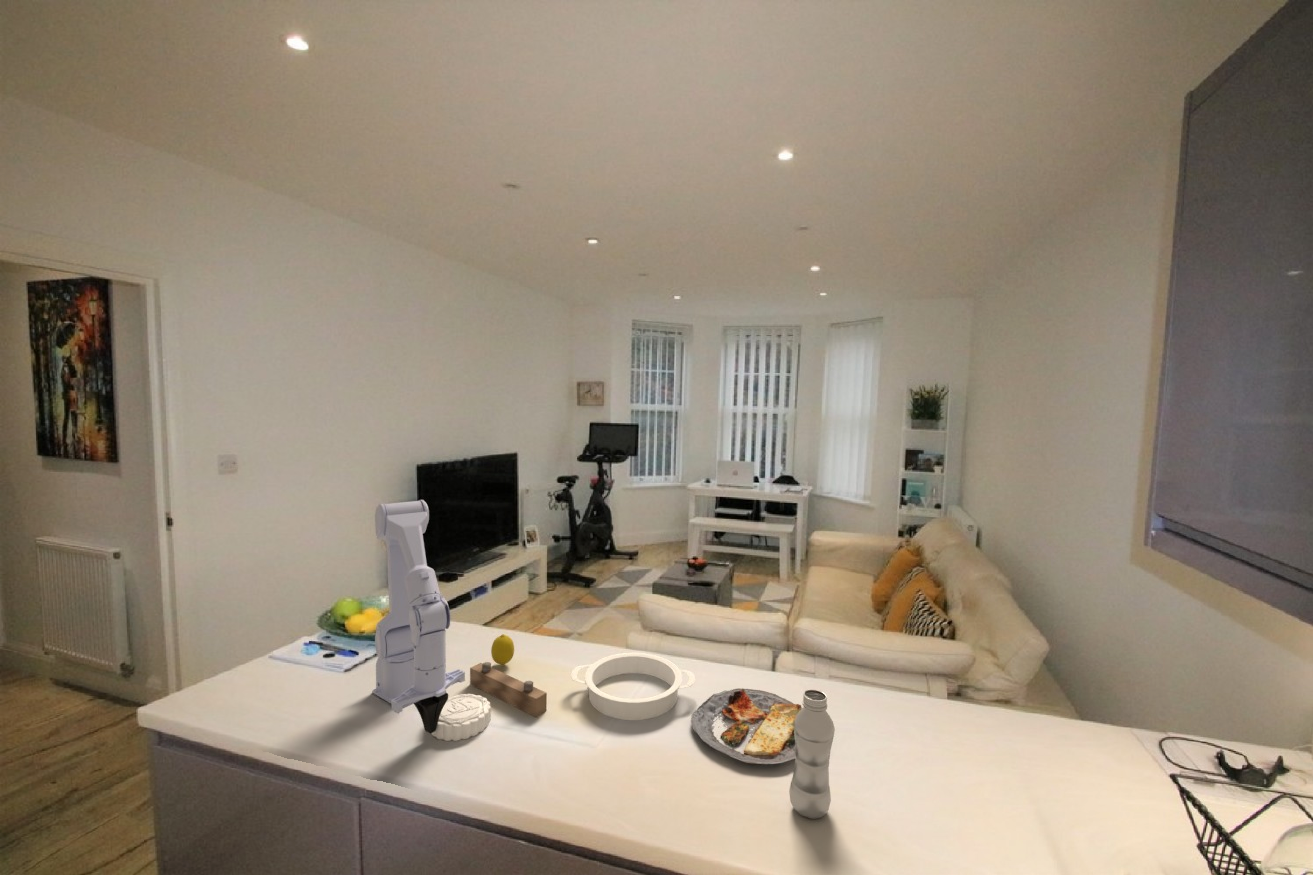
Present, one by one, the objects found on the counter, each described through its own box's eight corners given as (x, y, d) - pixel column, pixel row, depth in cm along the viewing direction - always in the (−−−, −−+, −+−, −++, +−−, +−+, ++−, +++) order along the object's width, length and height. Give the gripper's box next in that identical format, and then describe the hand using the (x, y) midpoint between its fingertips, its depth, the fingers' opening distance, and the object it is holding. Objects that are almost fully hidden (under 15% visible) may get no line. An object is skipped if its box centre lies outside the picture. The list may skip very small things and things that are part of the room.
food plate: (730, 685, 130) (731, 671, 130) (827, 722, 116) (828, 706, 116) (672, 740, 110) (672, 723, 109) (781, 792, 96) (782, 774, 96)
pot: (559, 720, 115) (560, 698, 115) (580, 668, 137) (580, 649, 137) (695, 728, 113) (696, 706, 113) (693, 674, 136) (694, 655, 135)
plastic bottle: (783, 796, 94) (788, 685, 93) (821, 795, 95) (827, 684, 93) (796, 825, 88) (801, 706, 86) (836, 823, 88) (843, 705, 87)
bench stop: (470, 684, 128) (470, 661, 127) (480, 678, 130) (480, 656, 130) (536, 716, 115) (536, 691, 115) (546, 710, 118) (546, 685, 117)
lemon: (507, 672, 134) (508, 640, 133) (487, 669, 135) (487, 638, 134) (517, 661, 139) (518, 631, 138) (497, 659, 140) (498, 628, 140)
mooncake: (483, 701, 121) (483, 686, 120) (497, 730, 110) (497, 713, 110) (425, 716, 115) (425, 700, 114) (433, 748, 104) (433, 730, 104)
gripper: (406, 685, 98) (407, 757, 99) (474, 655, 110) (474, 719, 111) (384, 673, 102) (385, 743, 103) (452, 645, 114) (452, 708, 115)
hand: (430, 730), depth 107 cm, fingers closed
